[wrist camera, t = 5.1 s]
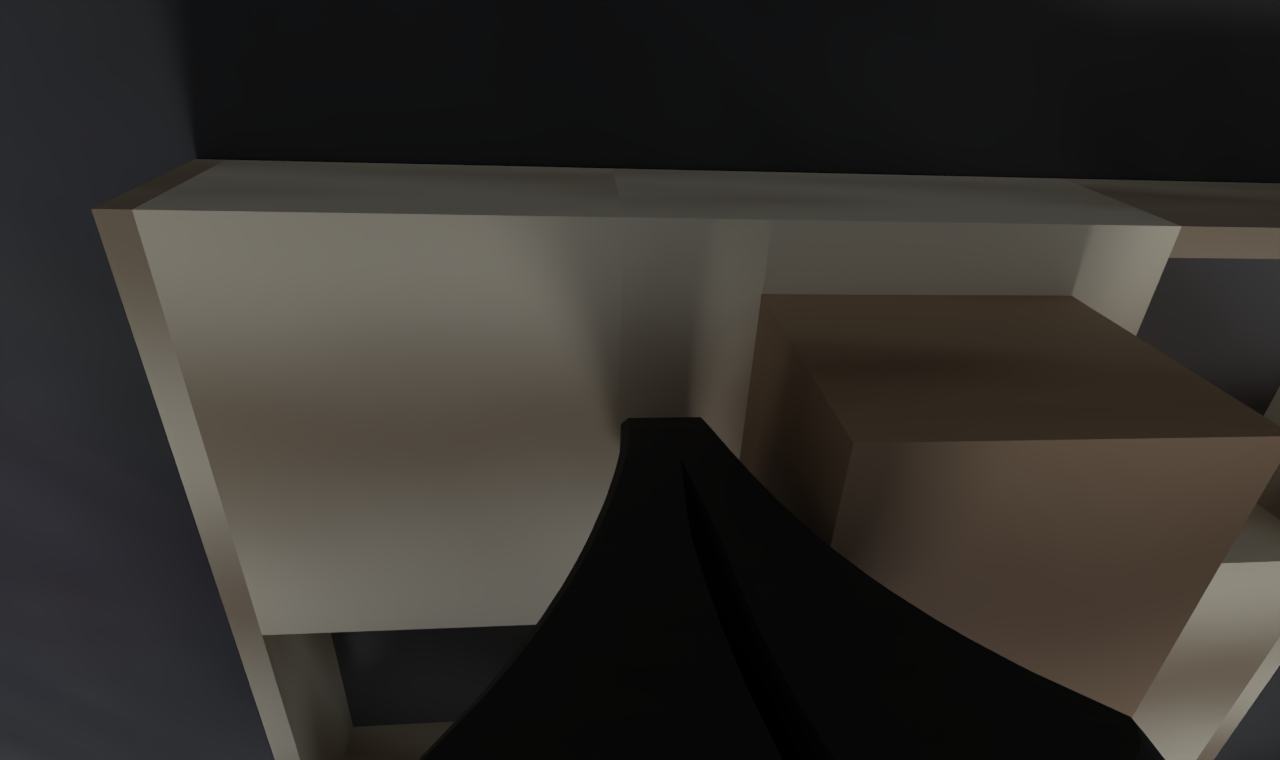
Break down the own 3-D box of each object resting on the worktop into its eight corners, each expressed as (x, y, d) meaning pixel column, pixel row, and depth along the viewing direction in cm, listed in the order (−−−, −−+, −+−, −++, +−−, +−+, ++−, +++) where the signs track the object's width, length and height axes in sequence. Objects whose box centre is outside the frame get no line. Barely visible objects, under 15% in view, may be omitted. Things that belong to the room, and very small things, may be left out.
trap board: (1117, 689, 21) (1194, 787, 19) (339, 729, 19) (304, 847, 17) (1394, 185, 14) (1581, 232, 12) (195, 159, 12) (90, 208, 9)
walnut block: (984, 538, 14) (1125, 727, 10) (728, 545, 13) (785, 747, 10) (1070, 295, 11) (1295, 435, 8) (761, 294, 11) (853, 443, 7)
